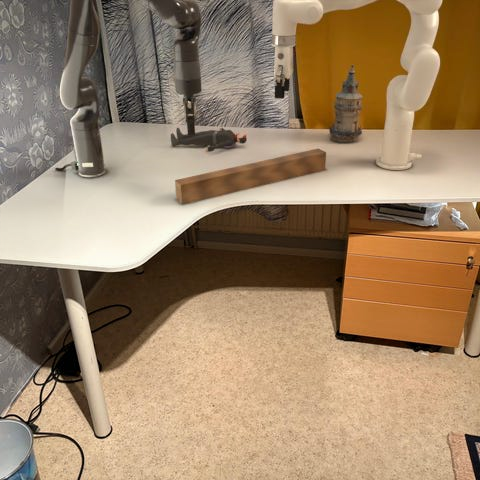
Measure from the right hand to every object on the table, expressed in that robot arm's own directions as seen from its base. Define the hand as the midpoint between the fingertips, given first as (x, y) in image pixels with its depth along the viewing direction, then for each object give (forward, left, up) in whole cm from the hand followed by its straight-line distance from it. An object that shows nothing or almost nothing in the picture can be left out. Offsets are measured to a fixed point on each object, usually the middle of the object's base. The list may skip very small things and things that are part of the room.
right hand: (281, 94), depth 179 cm
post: (+10, +11, -27) cm, 31 cm away
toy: (+24, -30, -27) cm, 47 cm away
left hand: (+31, +20, -5) cm, 37 cm away
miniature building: (-32, -30, -27) cm, 52 cm away
